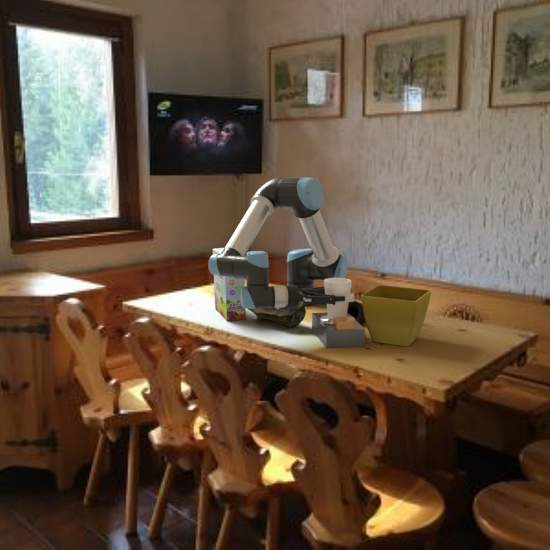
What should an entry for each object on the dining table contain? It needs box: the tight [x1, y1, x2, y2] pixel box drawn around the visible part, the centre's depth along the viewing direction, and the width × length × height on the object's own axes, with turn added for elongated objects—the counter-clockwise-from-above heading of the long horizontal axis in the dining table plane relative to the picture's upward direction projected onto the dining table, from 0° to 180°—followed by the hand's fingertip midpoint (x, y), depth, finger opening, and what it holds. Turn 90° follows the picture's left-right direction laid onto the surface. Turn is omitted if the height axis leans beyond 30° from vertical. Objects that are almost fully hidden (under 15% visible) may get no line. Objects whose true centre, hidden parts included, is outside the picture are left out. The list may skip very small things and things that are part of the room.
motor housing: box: [311, 312, 366, 349], centre depth 214 cm, size 24×13×9 cm, turn 8°
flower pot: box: [360, 284, 432, 347], centre depth 210 cm, size 19×19×17 cm
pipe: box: [347, 299, 366, 324], centre depth 238 cm, size 10×15×15 cm
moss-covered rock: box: [247, 301, 307, 329], centre depth 234 cm, size 28×13×15 cm
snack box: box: [212, 247, 247, 322], centre depth 246 cm, size 22×9×26 cm, turn 18°
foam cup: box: [323, 277, 353, 319], centre depth 212 cm, size 10×9×13 cm
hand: (349, 294), depth 213 cm, fingers open, 10 cm apart
